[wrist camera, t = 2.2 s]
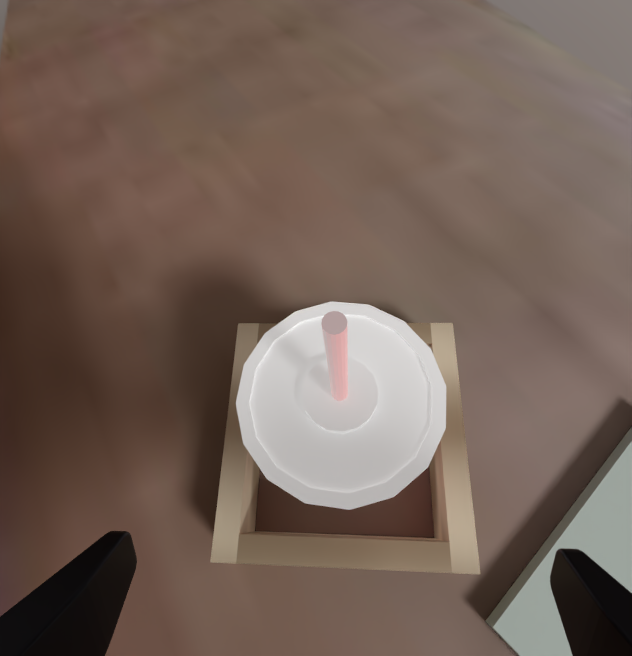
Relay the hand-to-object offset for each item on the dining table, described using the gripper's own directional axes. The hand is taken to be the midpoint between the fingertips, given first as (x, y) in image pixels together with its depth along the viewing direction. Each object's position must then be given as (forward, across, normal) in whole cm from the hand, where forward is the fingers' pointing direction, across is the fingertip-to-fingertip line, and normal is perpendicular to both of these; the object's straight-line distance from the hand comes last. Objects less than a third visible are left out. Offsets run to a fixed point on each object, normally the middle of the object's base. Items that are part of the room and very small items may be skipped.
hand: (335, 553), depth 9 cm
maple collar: (+10, 0, +5) cm, 12 cm away
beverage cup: (+10, 0, +5) cm, 12 cm away
